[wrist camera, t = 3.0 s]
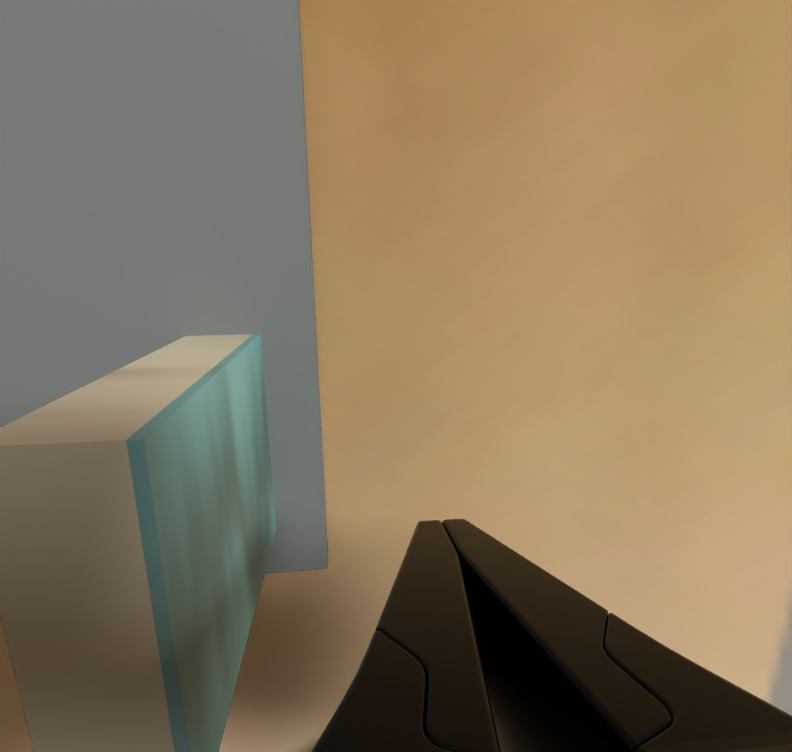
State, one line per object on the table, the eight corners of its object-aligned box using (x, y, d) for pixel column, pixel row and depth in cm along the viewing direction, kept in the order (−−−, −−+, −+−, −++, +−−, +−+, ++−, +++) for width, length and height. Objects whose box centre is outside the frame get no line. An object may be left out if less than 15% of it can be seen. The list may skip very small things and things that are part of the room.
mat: (328, 557, 16) (327, 568, 15) (-69, 585, 15) (-86, 598, 14) (298, -9, 12) (295, -22, 12) (-240, -29, 11) (-273, -45, 10)
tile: (276, 528, 15) (200, 824, 7) (208, 532, 15) (55, 840, 7) (260, 334, 13) (144, 439, 6) (185, 336, 13) (-41, 447, 6)
